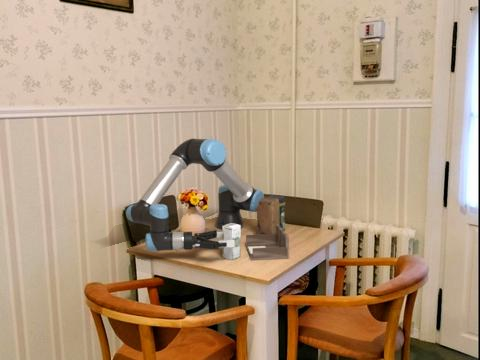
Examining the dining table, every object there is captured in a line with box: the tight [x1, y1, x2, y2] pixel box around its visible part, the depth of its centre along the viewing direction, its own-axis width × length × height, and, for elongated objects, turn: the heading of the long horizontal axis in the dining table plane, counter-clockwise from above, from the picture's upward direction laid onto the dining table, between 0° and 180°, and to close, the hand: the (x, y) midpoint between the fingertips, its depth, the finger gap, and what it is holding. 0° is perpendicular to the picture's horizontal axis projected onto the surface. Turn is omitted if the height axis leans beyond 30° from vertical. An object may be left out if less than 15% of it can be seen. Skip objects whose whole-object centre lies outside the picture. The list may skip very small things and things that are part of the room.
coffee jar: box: [267, 194, 287, 231], centre depth 237 cm, size 10×8×19 cm
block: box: [256, 196, 280, 235], centre depth 223 cm, size 11×8×20 cm
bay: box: [244, 224, 290, 261], centre depth 200 cm, size 22×16×10 cm
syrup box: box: [221, 223, 242, 261], centre depth 192 cm, size 6×6×14 cm
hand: (233, 238), depth 192 cm, fingers open, 13 cm apart
